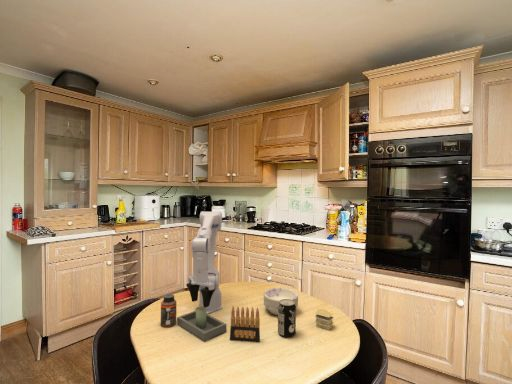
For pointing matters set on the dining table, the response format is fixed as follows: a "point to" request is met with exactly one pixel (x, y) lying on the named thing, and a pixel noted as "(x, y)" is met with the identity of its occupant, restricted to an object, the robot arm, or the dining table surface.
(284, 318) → the beverage can
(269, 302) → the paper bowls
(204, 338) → the trough
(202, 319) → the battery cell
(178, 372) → the dining table surface
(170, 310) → the supplement bottle
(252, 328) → the ammunition clip
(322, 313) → the layered tan block
